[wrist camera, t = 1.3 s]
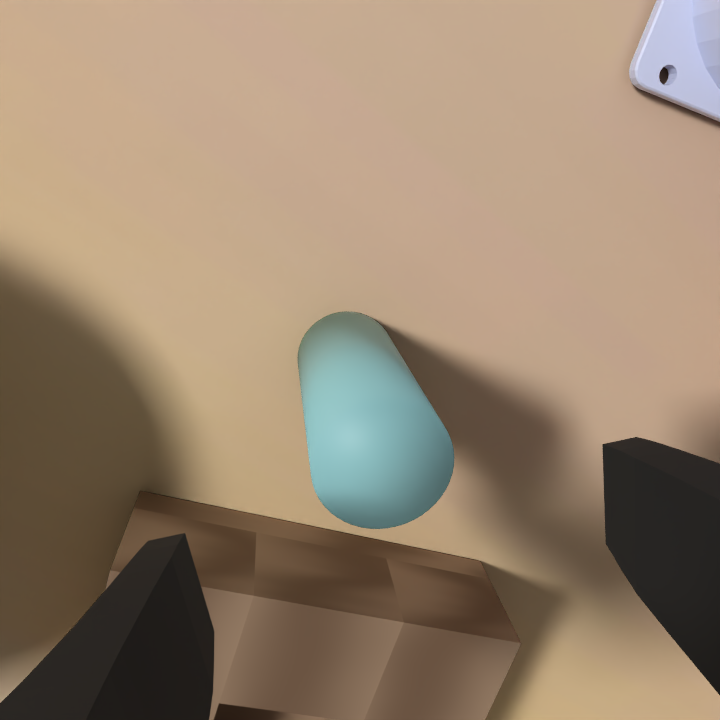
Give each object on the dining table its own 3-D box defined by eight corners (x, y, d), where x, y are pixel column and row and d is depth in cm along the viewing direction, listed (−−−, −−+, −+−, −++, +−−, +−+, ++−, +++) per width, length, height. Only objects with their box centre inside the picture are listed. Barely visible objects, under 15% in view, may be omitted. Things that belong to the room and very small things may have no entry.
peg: (406, 326, 20) (474, 418, 13) (376, 413, 20) (425, 540, 14) (313, 299, 19) (336, 382, 12) (285, 390, 20) (293, 513, 13)
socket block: (480, 561, 23) (521, 643, 19) (375, 803, 26) (392, 915, 22) (140, 491, 20) (109, 570, 16) (70, 770, 23) (31, 890, 20)
